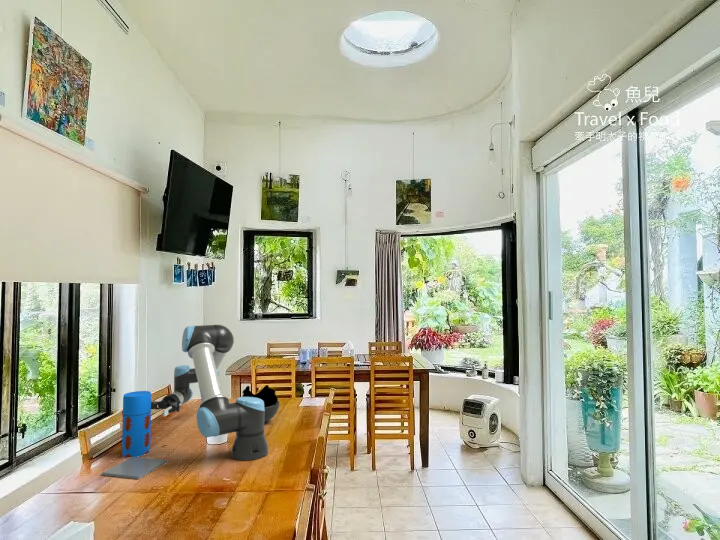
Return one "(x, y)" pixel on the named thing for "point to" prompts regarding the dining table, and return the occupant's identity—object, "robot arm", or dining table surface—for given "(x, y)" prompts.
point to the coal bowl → (265, 400)
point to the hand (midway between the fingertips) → (149, 413)
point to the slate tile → (134, 467)
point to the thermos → (136, 423)
